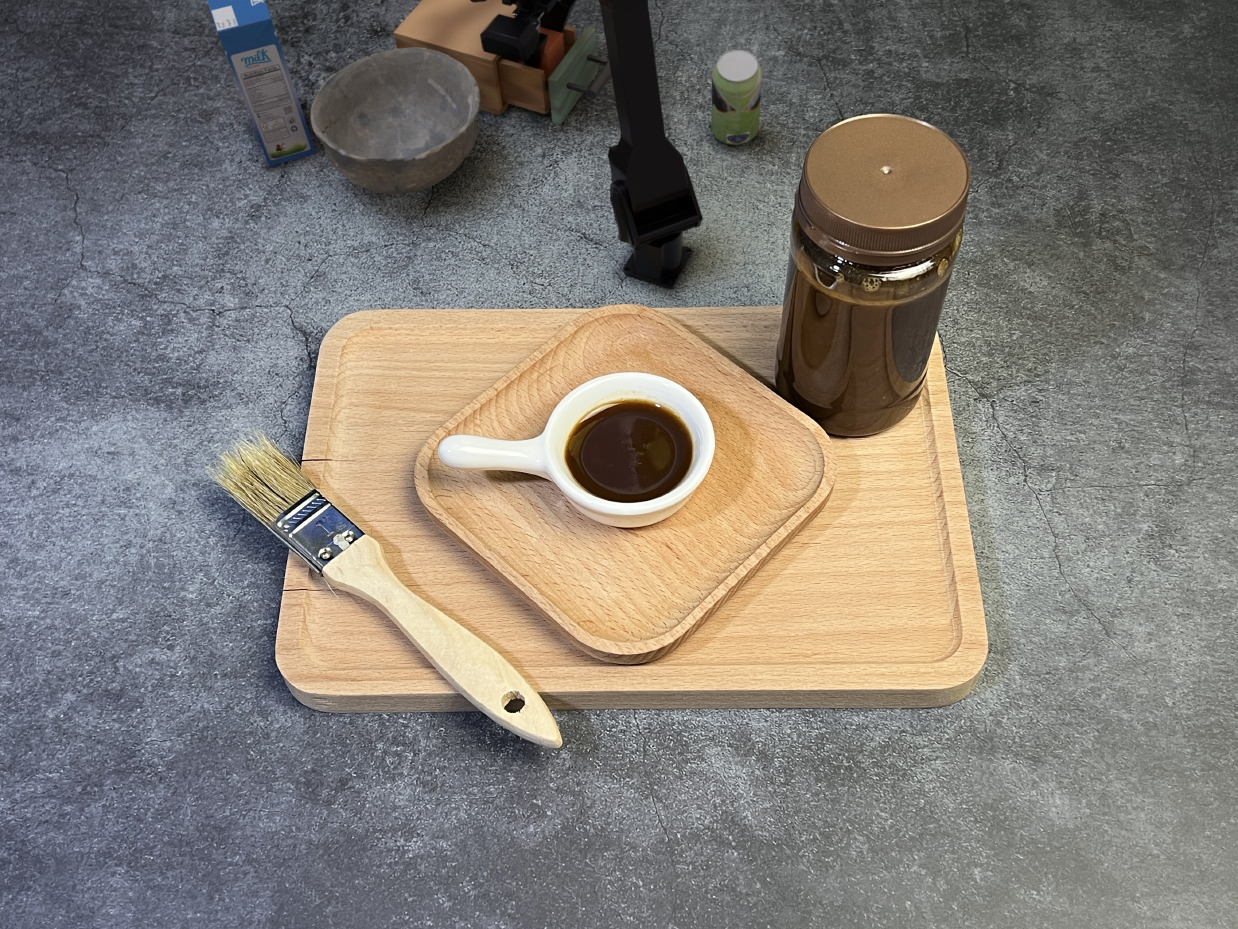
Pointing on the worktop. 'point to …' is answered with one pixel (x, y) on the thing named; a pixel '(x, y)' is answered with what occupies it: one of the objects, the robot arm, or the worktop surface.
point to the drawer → (556, 77)
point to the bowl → (398, 119)
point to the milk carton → (263, 78)
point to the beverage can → (736, 97)
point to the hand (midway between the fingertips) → (542, 62)
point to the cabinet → (458, 39)
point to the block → (551, 52)
